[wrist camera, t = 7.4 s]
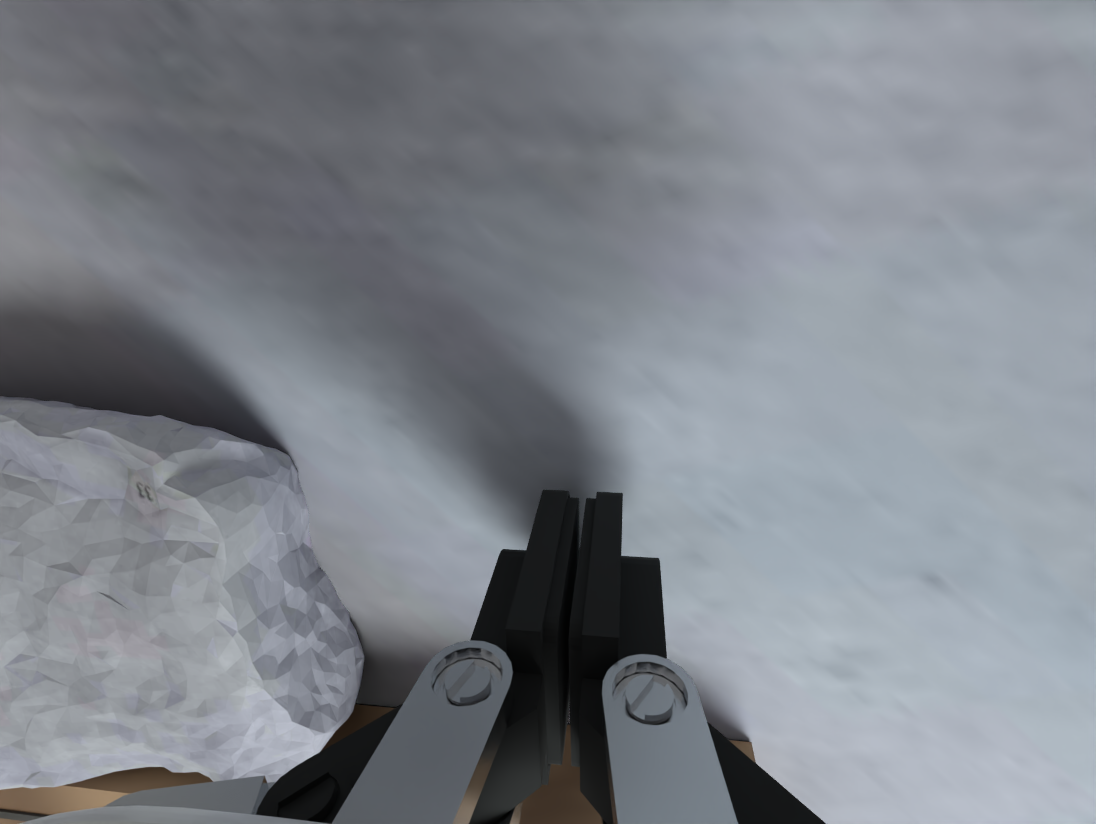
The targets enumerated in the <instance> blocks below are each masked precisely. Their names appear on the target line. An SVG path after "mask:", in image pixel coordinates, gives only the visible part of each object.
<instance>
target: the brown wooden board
mask: <svg viewBox="0 0 1096 824" xmlns="http://www.w3.org/2000/svg"><path fill="white" fill-rule="evenodd" d="M393 709H395V708H388V707H378V706H368V705H357V704H355V706H354V709H353V712H352V714H351V715H350V717H349V718H348V719H347V720H346V721H345V722H344V723H343V724H342V725H341V726H340V727H339V728H338V729H337V730H336V731H335V733H334V734H333V735H332V737H331V738H330V739H329V741H328V742H327V743H326V745H325V746H324V747H323V749H322V750H321V751H323V750H324V749H326V748H328V747H329V746H331V745H333V744H335V743H336V742H338V741H340V740H341V739H343V738H345V737H347V736H348V735H350V734H352V733H353V732H355V731H357V730H359V729H360V728H362V727H364V726H365V725H367V724H369V723H371V722H372V721H374V720H376V719H378V718H379V717H381V716H383V715H384V714H386V713H388V712H390V711H391V710H393ZM729 741H730V742H731V743H733V744H734V745H735V746H736V747H737V748H738V749H740V750H741V751H742V752H743V753H744V754H745V755H747V756H748V757H749V758H750V759H751V760H752V761H754V762H755V758H754V753H753V748H752V744H751V742H744V741H733V740H729ZM321 751H320V752H321ZM755 763H756V762H755ZM207 782H213V781H212V780H211V779H210V778H209V777H207V776H205V775H203V774H201V773H199V772H185V773H183V772H171V771H169V770H168V769H166V768H165V767H144V768H135V769H129V770H122V771H115V772H112V773H108V774H104V775H101V776H97V777H94V778H90V779H86V780H83V781H80V782H75V783H71V784H67V785H62V786H58V787H38V788H33V789H31V788H26V787H19V788H11V789H2V790H0V824H19V823H23V822H27V821H31V820H34V819H38V818H42V817H46V816H49V815H53V814H58V813H65V812H71V811H78V810H85V809H92V808H100V807H104V806H106V805H107V804H109V803H111V802H113V801H115V800H116V799H118V798H120V797H122V796H124V795H128V794H131V793H135V792H138V791H142V790H150V789H158V788H166V787H174V786H182V785H190V784H199V783H207ZM522 802H523V807H522V813H521V819H520V822H519V824H601V816H600V815H599V813H598V812H597V811H596V810H595V809H594V807H593V806H592V805H591V804H590V802H589V801H588V800H587V799H586V798H585V796H584V795H583V794H582V793H581V791H580V767H574V766H571V735H570V725H567V727H566V736H565V745H564V753H563V761H562V765H555V764H551V767H550V774H549V781H548V785H541V787H540V788H539V789H537V790H536V791H535V792H534V793H532V794H531V795H530V796H528V797H527V798H526V799H525V800H523V801H522Z"/></svg>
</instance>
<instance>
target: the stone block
mask: <svg viewBox="0 0 1096 824" xmlns="http://www.w3.org/2000/svg"><path fill="white" fill-rule="evenodd" d="M363 665H364V654H363V650H362V646H361V644H360V641H359V638H358V635H357V632H356V629H355V628H354V626H353V624H352V622H351V621H350V614H349V612H348V610H347V609H346V608H345V606H344V605H343V604H342V602H341V601H340V599H339V597H338V595H337V593H336V590H335V588H334V587H333V585H332V583H331V581H330V580H329V578H328V576H327V574H326V573H325V572H324V571H323V570H321V569H320V568H319V566H318V563H317V560H316V558H315V555H314V553H313V550H312V545H311V539H310V533H309V510H308V506H307V503H306V500H305V496H304V493H303V491H302V489H301V485H300V482H299V478H298V472H297V470H296V468H295V466H294V464H293V462H292V460H291V458H290V457H289V455H287V454H285V453H283V452H281V451H279V450H277V449H275V448H270V447H265V446H263V445H260V444H257V443H253V442H250V441H247V440H243V439H240V438H238V437H236V436H233V435H231V434H228V433H226V432H223V431H220V430H217V429H214V428H210V427H204V426H194V425H190V424H188V423H185V422H181V421H178V420H174V419H171V418H168V417H165V416H162V415H157V416H152V417H148V416H140V415H132V414H127V413H122V412H118V411H110V410H95V409H93V408H90V407H81V406H75V405H74V404H71V403H64V402H58V401H41V400H37V399H34V398H22V397H4V396H0V790H2V789H11V788H19V787H26V788H31V789H33V788H38V787H58V786H62V785H67V784H71V783H75V782H80V781H83V780H86V779H90V778H94V777H97V776H101V775H104V774H108V773H112V772H115V771H122V770H129V769H135V768H144V767H165V768H166V769H168V770H169V771H171V772H183V773H185V772H199V773H201V774H203V775H205V776H207V777H209V778H210V779H211V780H212V781H213V782H215V781H223V780H231V779H239V778H247V777H255V776H263V775H265V778H266V781H267V783H269V782H277V780H278V779H279V778H280V777H281V776H283V775H284V774H286V773H287V772H288V771H290V770H291V769H292V768H294V767H295V766H297V765H298V764H300V763H302V762H304V761H305V760H307V759H309V758H311V757H312V756H314V755H316V754H317V753H319V752H320V751H321V750H322V749H323V747H324V746H325V745H326V743H327V742H328V741H329V739H330V738H331V737H332V735H333V734H334V733H335V731H336V730H337V729H338V728H339V727H340V726H341V725H342V724H343V723H344V722H345V721H346V720H347V719H348V718H349V717H350V715H351V714H352V712H353V709H354V706H355V702H356V699H357V695H358V692H359V688H360V684H361V680H362V672H363Z"/></svg>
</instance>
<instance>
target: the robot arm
mask: <svg viewBox="0 0 1096 824" xmlns="http://www.w3.org/2000/svg"><path fill="white" fill-rule="evenodd" d="M622 501H623V493H610V492H597V495H596V499H591V498H587V499H586V505H585V513H584V520H583V528H582V535H581V543H580V539H579V498H570V494H569V491H564V490H543V491H542V495H541V498H540V502H539V506H538V509H537V513H536V517H535V521H534V524H533V528H532V532H531V535H530V539H529V543H528V546H527V550H509V549H503V550H502V551H501V552H500V555H499V557H498V560H497V563H496V566H495V569H494V572H493V575H492V578H491V581H490V584H489V587H488V590H487V593H486V596H485V599H484V602H483V605H482V608H481V610H480V613H479V616H478V619H477V622H476V625H475V628H474V631H473V634H472V637H471V640H470V641H464V642H458V643H456V644H453V645H451V646H448V647H446V648H444V649H443V650H442V651H440V652H439V653H437V654H436V655H435V656H434V657H433V658H432V659H431V660H430V662H429V663H428V664H427V665H426V667H425V668H424V670H423V672H422V673H421V675H420V677H419V678H418V680H417V682H416V683H415V685H414V687H413V688H412V690H411V692H410V693H409V695H408V697H407V698H406V700H405V702H404V703H403V704H402V705H400V706H398V707H396V708H395V709H393V710H391V711H390V712H388V713H386V714H384V715H383V716H381V717H379V718H378V719H376V720H374V721H372V722H371V723H369V724H367V725H365V726H364V727H362V728H360V729H359V730H357V731H355V732H353V733H352V734H350V735H348V736H347V737H345V738H343V739H341V740H340V741H338V742H336V743H335V744H333V745H331V746H329V747H328V748H326V749H324V750H323V751H321V752H319V753H317V754H316V755H314V756H312V757H311V758H309V759H307V760H305V761H304V762H302V763H300V764H298V765H297V766H295V767H294V768H292V769H291V770H290V771H288V772H287V773H286V774H284V775H283V776H281V777H280V778H279V779H278V780H277V782H269V783H267V781H266V778H265V775H263V776H255V777H247V778H239V779H231V780H223V781H215V782H207V783H199V784H190V785H182V786H174V787H166V788H158V789H150V790H142V791H138V792H135V793H131V794H128V795H124V796H122V797H120V798H118V799H116V800H115V801H113V802H111V803H109V804H107V805H106V806H104V807H100V808H92V809H85V810H78V811H71V812H65V813H58V814H53V815H49V816H46V817H42V818H38V819H34V820H31V821H27V822H23V823H19V824H519V822H520V819H521V813H522V807H523V802H522V801H523V800H525V799H526V798H527V797H528V796H530V795H531V794H532V793H534V792H535V791H536V790H537V789H539V788H540V787H541V785H548V781H549V774H550V767H551V764H555V765H562V761H563V753H564V745H565V736H566V727H567V719H568V710H569V701H570V735H571V766H574V767H580V791H581V793H582V794H583V795H584V796H585V798H586V799H587V800H588V801H589V802H590V804H591V805H592V806H593V807H594V809H595V810H596V811H597V812H598V813H599V815H600V816H601V824H826V823H824V822H823V821H822V820H821V819H820V818H819V817H818V816H816V815H815V814H814V813H813V812H812V811H811V810H809V809H808V808H807V807H806V806H805V805H804V804H802V803H801V802H800V801H799V800H798V799H797V798H795V797H794V796H793V795H792V794H791V793H790V792H788V791H787V790H786V789H785V788H784V787H783V786H781V785H780V784H779V783H778V782H777V781H776V780H774V779H773V778H772V777H771V776H770V775H769V774H768V773H766V772H765V771H764V770H763V769H762V768H761V767H759V766H758V765H757V764H756V763H755V762H754V761H752V760H751V759H750V758H749V757H748V756H747V755H745V754H744V753H743V752H742V751H741V750H740V749H738V748H737V747H736V746H735V745H734V744H733V743H731V742H730V741H729V740H728V739H727V738H726V737H724V736H723V735H722V734H721V733H720V732H719V731H718V730H716V729H715V728H714V727H713V726H712V725H711V724H709V723H708V722H707V720H706V717H705V714H704V710H703V707H702V704H701V700H700V697H699V694H698V691H697V688H696V686H695V684H694V682H693V680H692V678H691V677H690V676H689V675H688V674H687V673H686V672H685V670H684V669H683V668H682V667H680V666H679V665H677V664H675V663H674V662H672V661H671V660H669V659H667V655H666V641H665V627H664V613H663V599H662V585H661V571H660V560H659V558H646V557H629V556H621V542H622Z"/></svg>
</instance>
